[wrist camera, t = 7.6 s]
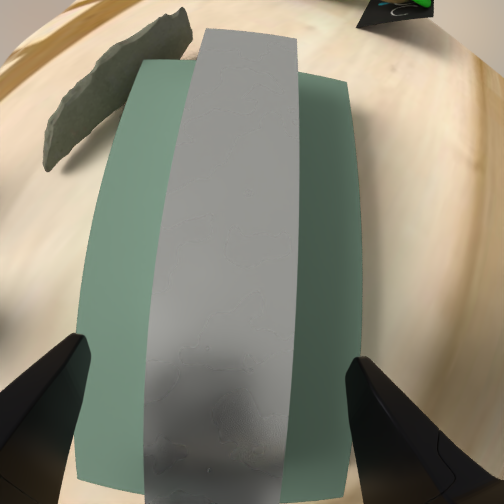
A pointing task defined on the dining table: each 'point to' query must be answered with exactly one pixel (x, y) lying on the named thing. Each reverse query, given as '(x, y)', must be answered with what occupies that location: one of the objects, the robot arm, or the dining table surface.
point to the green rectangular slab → (142, 273)
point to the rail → (226, 281)
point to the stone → (112, 83)
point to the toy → (395, 11)
